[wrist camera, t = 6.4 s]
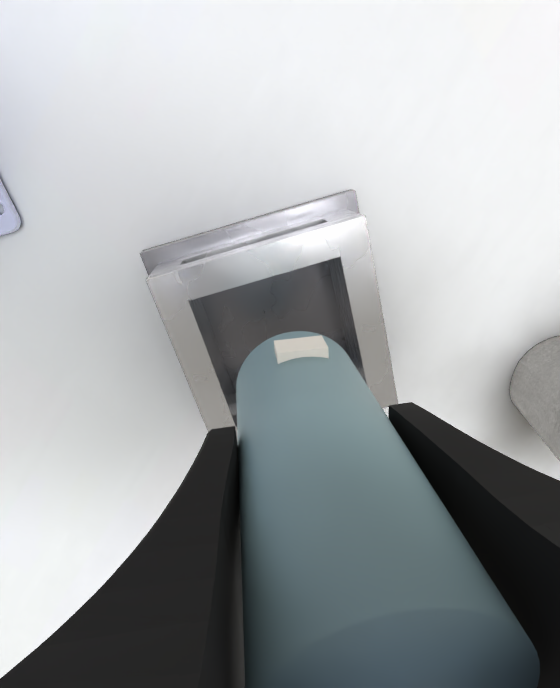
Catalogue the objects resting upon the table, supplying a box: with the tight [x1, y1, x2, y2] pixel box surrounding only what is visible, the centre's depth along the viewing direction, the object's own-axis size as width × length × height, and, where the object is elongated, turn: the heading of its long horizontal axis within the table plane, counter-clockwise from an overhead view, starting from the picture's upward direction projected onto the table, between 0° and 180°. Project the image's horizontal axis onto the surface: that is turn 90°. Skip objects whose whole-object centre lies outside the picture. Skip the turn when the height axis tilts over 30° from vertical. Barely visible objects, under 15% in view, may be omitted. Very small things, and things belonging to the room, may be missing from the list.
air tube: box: [236, 331, 540, 688], centre depth 10 cm, size 4×4×9 cm
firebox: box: [140, 190, 398, 443], centre depth 19 cm, size 10×10×4 cm
